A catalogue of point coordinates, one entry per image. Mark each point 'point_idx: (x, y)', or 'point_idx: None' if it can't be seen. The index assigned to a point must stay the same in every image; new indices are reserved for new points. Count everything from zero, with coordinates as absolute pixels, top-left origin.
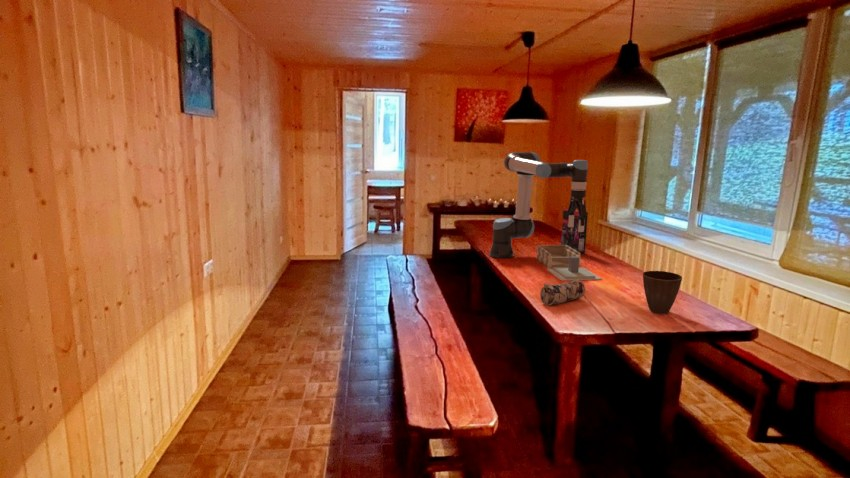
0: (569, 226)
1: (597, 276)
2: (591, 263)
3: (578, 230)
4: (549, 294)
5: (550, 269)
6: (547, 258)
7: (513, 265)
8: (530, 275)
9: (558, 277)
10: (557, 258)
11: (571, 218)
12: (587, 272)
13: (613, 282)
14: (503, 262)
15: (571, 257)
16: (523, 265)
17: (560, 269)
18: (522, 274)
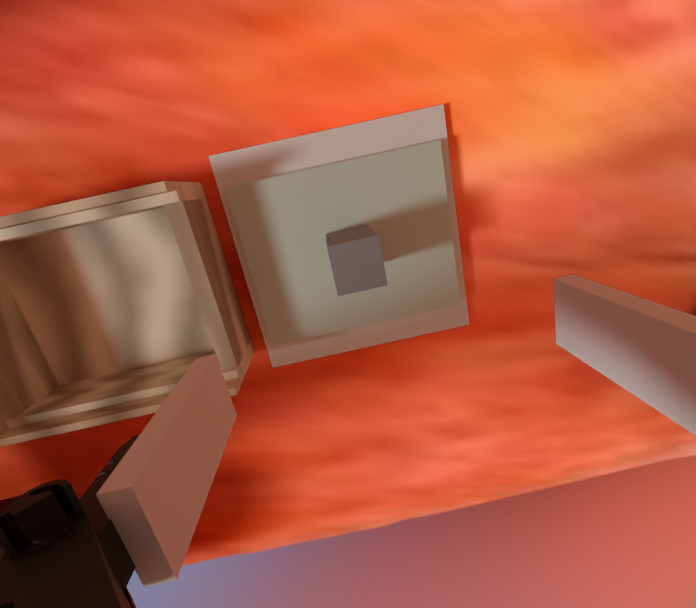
0: (230, 411)
1: (400, 118)
2: (47, 69)
3: (573, 349)
4: None
5: (286, 351)
6: None
7: (221, 498)
8: (386, 438)
9: (432, 331)
10: (228, 334)
11: (184, 480)
12: (367, 170)
13: (492, 45)
14: None
15: (372, 286)
16: None
17: (320, 311)
18: (373, 467)
